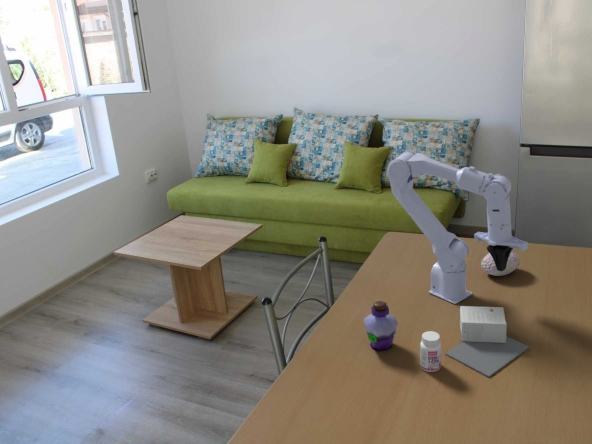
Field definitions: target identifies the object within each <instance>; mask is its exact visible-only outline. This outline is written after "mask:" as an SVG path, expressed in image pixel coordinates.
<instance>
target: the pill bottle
mask: <svg viewBox="0 0 592 444" xmlns="http://www.w3.org/2000/svg"><path fill="white" fill-rule="evenodd" d="M419 347H420V348H419V349H420V350H419V359H420V360H419V365H420V366H419V367H420V368H421V369H422V370H423V371H425V372H428V373H434V372H438V371H439V370H440V369H441V367H442V343H441V336H440V333H438V332H436V331H431V330H429V331H425V332H423V333H422V334H421V341H420V343H419Z"/></svg>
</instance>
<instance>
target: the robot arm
mask: <svg viewBox="0 0 592 444" xmlns="http://www.w3.org/2000/svg"><path fill="white" fill-rule="evenodd" d="M425 174H426V175H430V176H433V177H438V178H440V179H444V180H448V181H452V182H454V184H455V185H456V186H457V188H458V189H461V190H464V191H466V192H470V193H472V194H477V195H479V196H483V198H484V199H485V200H486V218H487V232H484V231H483V232H482V231H477V232H476V233H474V235H473V238H474V241H476V242H479V241H480V242H485V243H487V244H488V246H486V250H487V252H488V253H490V254H491V256H492V258H493V260H494V262H495V265H496V268H497V270H498V271H503V270H505V269H506V265H507V261H508V258H509V255H510V253H511V251H513V249H517V250H519V251H521V252H525V251H527V250H528V249H529V246H528V245H529V244H528V241H526V240H525V241H524V240H521V239H519V238H517V237H516V236H513V235H512V220H511V219H512V216H511V204H510V203H511V202H510V194H509V193H510V192H511V190H512V183H511V180H510V178H508V177H507V176H506V175H504V174H502V173H497V174H494V173H492V172H489V173H486V172H483V171H481V170H478V169H476V167H474V166H472V165H471V166H469V167H468V166H465V167H462V168H457V167H454V166H451V165H448V164H446V163H443V162H441V161H439V160H436V159H433V158H430V157H428V156H426V155H425V154H423V153H420V152H415V151H413V150H405V151H404V152H402V153H401V154H400V155H399V156H397V157H396V158H394V159H393V160H391V161H390V162H389V163H388V165H387V168H386V174H385V176H386V178H387V180H388V181H389V185H390V190H391V193H392V195H393V197H394V198H395V199H396V201H397V202H398V203H399V205H401V207H402V208H403V209H404V211H405V212H406V213H407V215H408V216H409V217H410V218H411V219H412V220H413V222H414V223H415V225H416V226H417V227H418V228H419V230H421V232H422V233H423V234H424V236H425V237H426V238H427V239H428V241H430V243H431V246H432V252H433V253H432V254H433V255H434V256H435V258H436V260H437V261H436V262H435V263H434V264H433V266H432V268H431V271H430V290H428V293H429V294H431V295H433V296H435V297H438V298H440V299H442V300H444V301H447V302H449V303H452V304H455V305H456V304H458V303H460V302H461V301H463V300H465V299H467V298H469V297H470V296H472V295H473V292H472V291H470V290H467V263H466V258H467V257H468V255H469V252H470V249H469V248H470V247H469V245H468V243H466V242H465V241H464V240H463V239H460V238H459V237H458V236H456V234H455V233H452V232H450V231H448V230H447V229H446V228H445V227H444V225H443V224H442V223H441V222H440V221H439V219H438V218H437V216H436V215H435V214H434V213H433V212H432V210H431V209H430V208H429V206H427V204H426V203H425V202H424V200H423V199H422V198H421V196H419V194H418V193H417V192H416V191H415V189H414V181H415V178H416V177H418V176H422V175H425Z"/></svg>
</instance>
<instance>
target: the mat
mask: <svg viewBox="0 0 592 444" xmlns="http://www.w3.org/2000/svg"><path fill="white" fill-rule="evenodd" d="M529 349H530V347H529V345H526V344H524V343H522V342H519V341H518V340H515V339H514V338H510V337H509V336H506V343H490V342H467V341H461V343H459V344H458V345H456V346H454V347H452V348H451V349H450V350H448V351H446V352H445V353H444V354H445V356H447V357H449V358H451V359H452V360H454V361H456V362H458V363H460V364H462V365H464V366H466V367H468V368H469V369H472V370H474V371H476V372H477V373H480V374H481V375H483V376H486V377H487V378H491V377H492V376H493V375H495V374H496V373H498V371H500V370H501V369H503V368H504V367H505V366H507V365H508V364H509V363H511V362H512V361H513V360H515V359H516V358H517V357H519V356H520V355H521V354H524V352H526V351H528V350H529Z"/></svg>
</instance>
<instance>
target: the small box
mask: <svg viewBox="0 0 592 444" xmlns="http://www.w3.org/2000/svg"><path fill="white" fill-rule="evenodd" d="M459 307H460V308H459V327H460V334H461V342H463V341H467V342H490V343H506V337H507V329H508V327H507V326H508V324H507V320H506V316H505V310H504V307H499V306H473V305H472V306H469V305H467V306H466V305H461V306H459Z"/></svg>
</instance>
